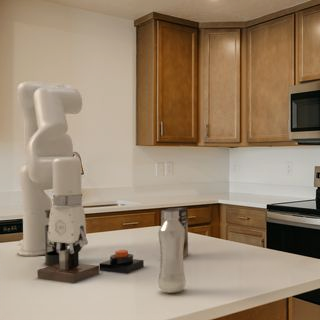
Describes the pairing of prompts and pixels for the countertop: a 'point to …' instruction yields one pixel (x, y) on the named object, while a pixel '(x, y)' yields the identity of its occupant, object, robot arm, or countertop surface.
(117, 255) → the button
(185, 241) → the coffee box
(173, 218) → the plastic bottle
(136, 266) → the button box
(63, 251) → the bar knob
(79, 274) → the dial panel
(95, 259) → the countertop surface
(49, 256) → the french press
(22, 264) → the countertop surface
